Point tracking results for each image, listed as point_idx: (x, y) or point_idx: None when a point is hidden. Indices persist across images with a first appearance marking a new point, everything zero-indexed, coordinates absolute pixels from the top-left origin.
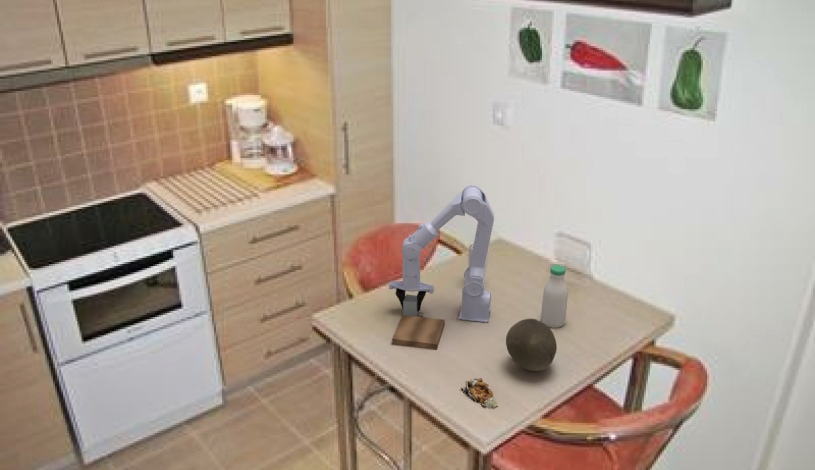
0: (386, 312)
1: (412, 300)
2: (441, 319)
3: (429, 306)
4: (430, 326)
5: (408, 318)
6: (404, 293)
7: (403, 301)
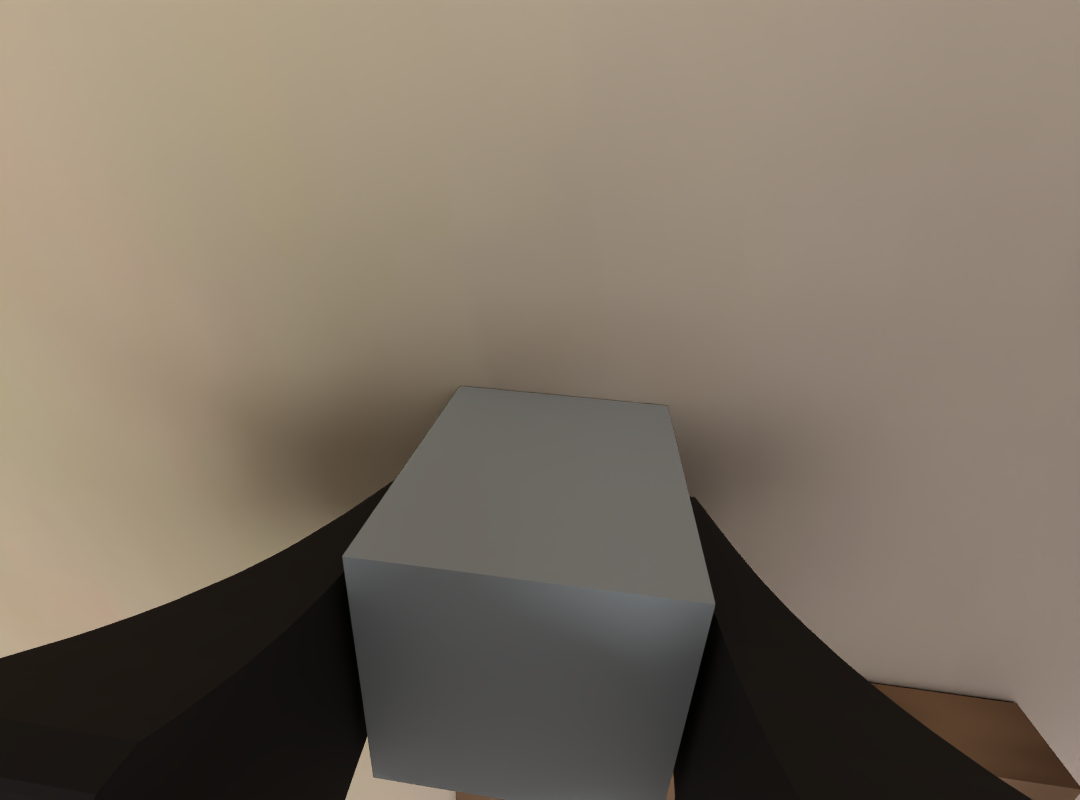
0: (241, 495)
1: (556, 760)
2: (1029, 784)
3: (852, 273)
4: None
5: None
6: (290, 745)
7: (381, 777)
